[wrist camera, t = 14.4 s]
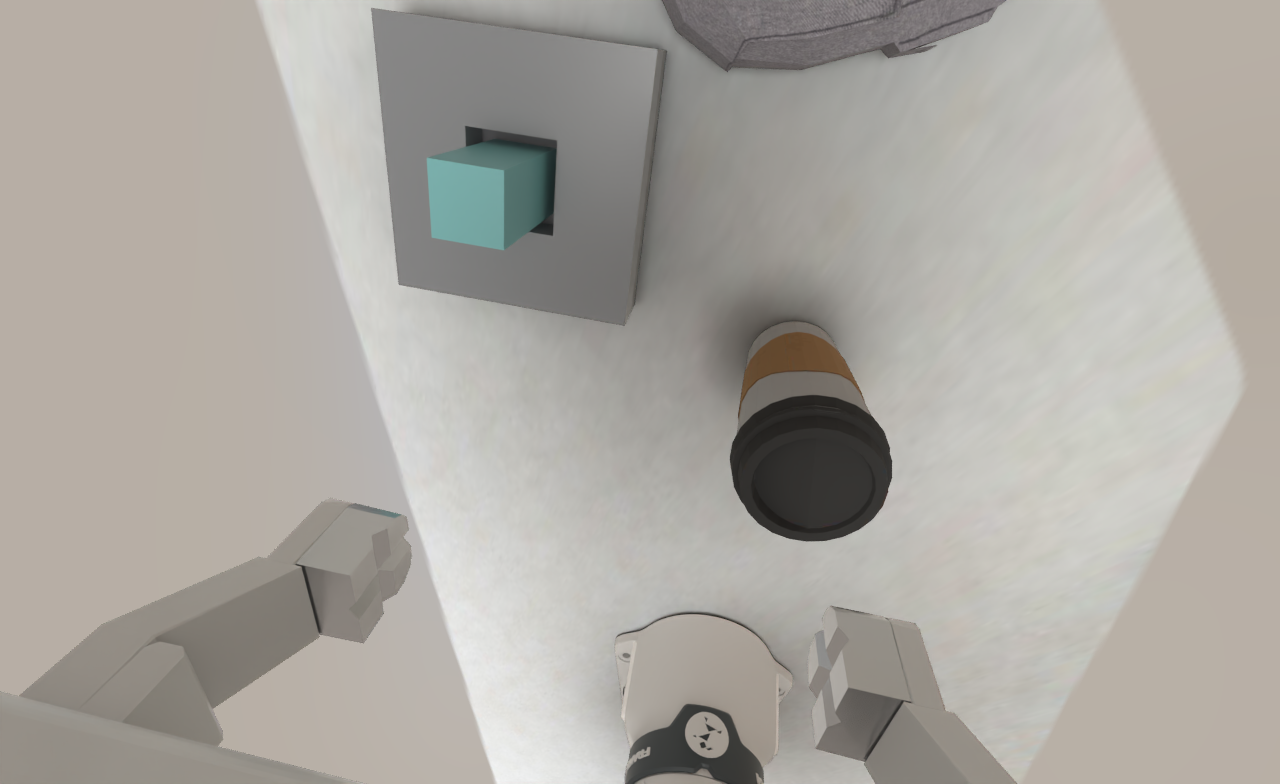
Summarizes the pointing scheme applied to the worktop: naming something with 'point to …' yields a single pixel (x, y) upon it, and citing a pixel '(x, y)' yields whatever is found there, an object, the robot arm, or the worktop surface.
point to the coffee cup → (806, 439)
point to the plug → (490, 192)
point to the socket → (533, 114)
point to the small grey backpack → (819, 28)
